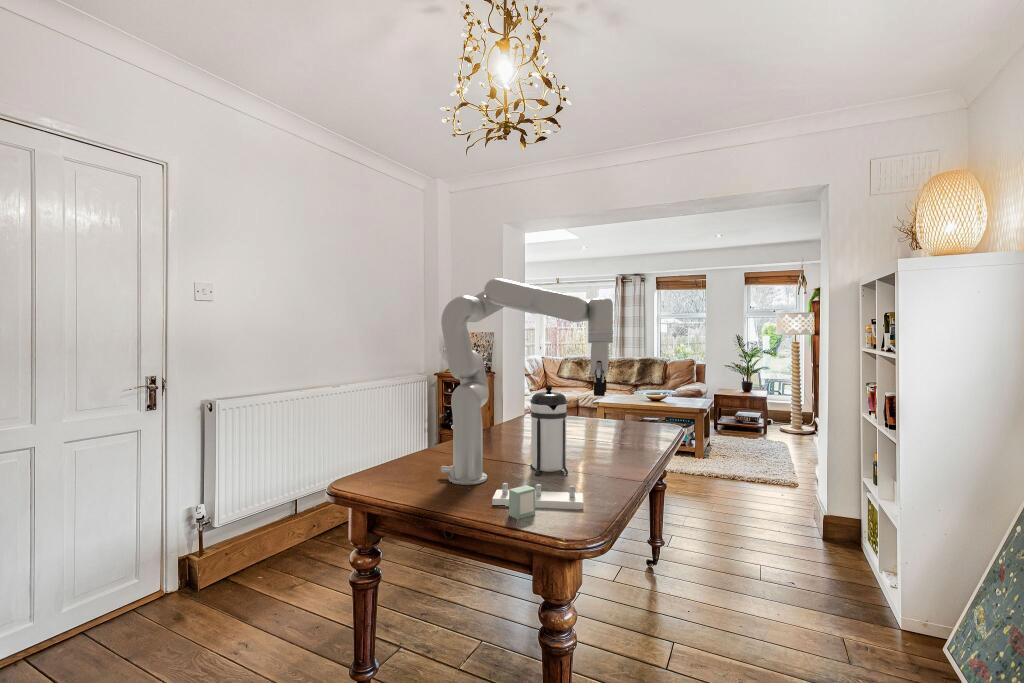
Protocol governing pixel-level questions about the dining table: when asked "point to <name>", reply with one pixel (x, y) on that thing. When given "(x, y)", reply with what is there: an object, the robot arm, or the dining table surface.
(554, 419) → the coffee press
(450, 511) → the dining table surface
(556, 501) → the white peg board
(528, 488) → the tall sage green block
